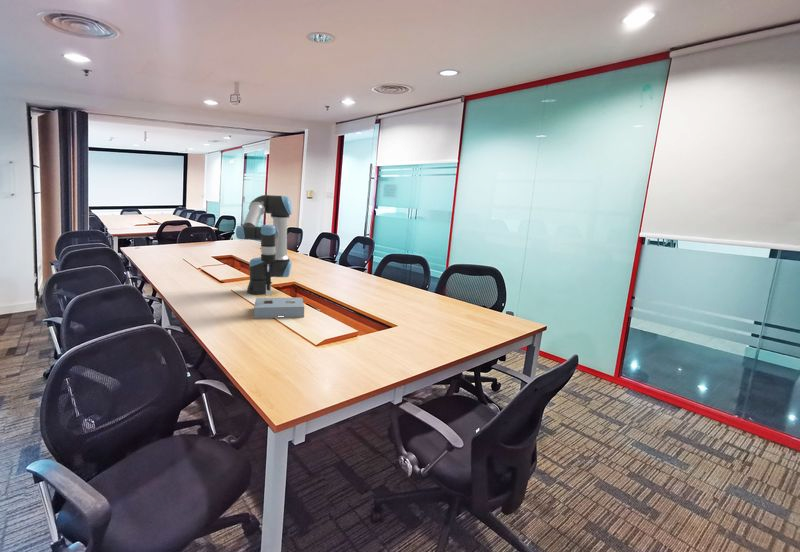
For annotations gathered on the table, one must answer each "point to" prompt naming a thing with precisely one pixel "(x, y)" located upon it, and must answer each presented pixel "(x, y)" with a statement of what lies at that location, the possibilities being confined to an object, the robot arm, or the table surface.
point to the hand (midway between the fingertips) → (268, 295)
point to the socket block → (278, 308)
